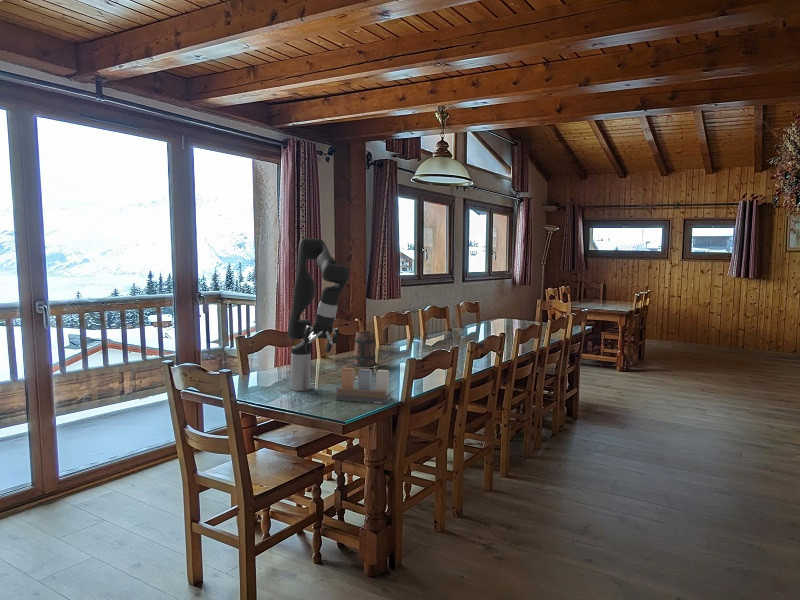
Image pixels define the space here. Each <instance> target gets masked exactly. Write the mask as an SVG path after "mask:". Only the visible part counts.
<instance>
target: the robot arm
mask: <svg viewBox="0 0 800 600" xmlns="http://www.w3.org/2000/svg"><path fill="white" fill-rule="evenodd" d="M297 253H298V254H297V263H296V264H297V268H296V277H295V282H294V289H293V294H292V295H293V296H292V307H291V312H290V316H289V322H288V326H287V335H288V337H289V339H291V340H302V341H301V342H299V343H298V344H296V345H293V346H292V347H291V350H290V357H291V358H290V390H291V391H296V392H304V391H309V390H311V374H312V373H311V371H312V370H311V369H312V364H311V363H312V360H311V359H312V357H311V356H312V355H311V354H312V342H313V341H315V340H316V339H326V340H327V343H326V348H325V353H327V354H329V353H330V352H331V351H332V347H333V344H338V340H339V335H340V329H339V328H338V327H334V324H335V319H336V315H337V311H338V304H339V301H340V300H339V299H340V296H341V294H342V291H343V289H344V288H345V286H346V285H347V283H348V280H349V278H350V269H349V268H348V267H347V266H345V265H341V264H338V262H337V261H336V260H335V258H334V257H333V256H332V255H331V254H330V251H329V249H328V247H327V245H326V243H325V241H323V239H320V238H307V237H306V238H301V239H300V240H299V243H298V251H297ZM308 260H311V261H312V260H314V261H316V265H317V267H318V269H319V270H320V272H321V277H322V279H323V280H324V281H325V282H327V283H334V285H331V286H326V287H324V288H322V290H321V294H320V300H319V303H318V305H317V310H316V314H315V318H314V323H313V324H312V321H311V320H310V319H300V318H301V315H302V314H303V312H304V311H305V310H306V309H307V308H308V307H309V306H310V305H311V303H312V302H313V300H314V298H315V297H314V296H315V291H316V283H315V280H314V279H313V276H312V275H311V274H310V272H309V269H308V267H307V261H308ZM333 327H334V328H333ZM331 334H332V337H331Z"/></svg>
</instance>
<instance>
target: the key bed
mask: <svg viewBox="0 0 800 600" xmlns="http://www.w3.org/2000/svg"><path fill="white" fill-rule="evenodd" d="M335 396H336V397H335V400H336V401H338V400H343V401H342V402H351V401H361V402H360V403H363V402H381V403H385V402H386V401H387V400H388V398H389V397H390V398H391V392H389V393H388V395H387V396H386V391H377V390H376V389H375V390H374V389H371V390H363V389H359V388H354V389H349V388H341V387H337V389H336V395H335ZM390 398H389V399H390ZM388 401H389V400H388ZM388 401H387V402H388ZM387 402H386V403H387ZM386 403H385V404H386Z"/></svg>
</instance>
